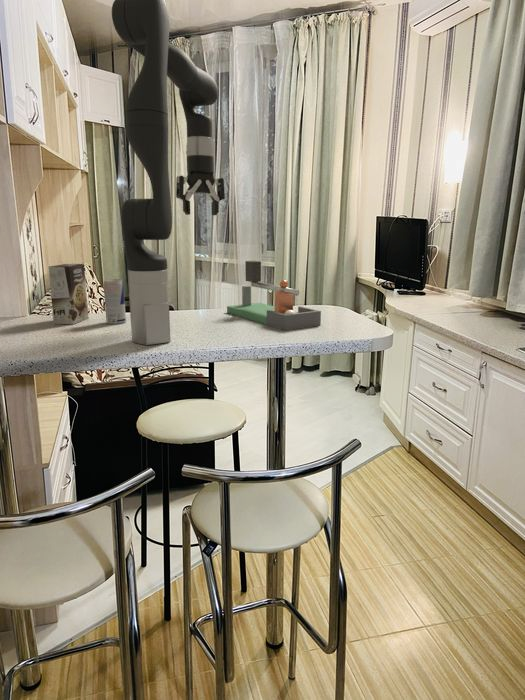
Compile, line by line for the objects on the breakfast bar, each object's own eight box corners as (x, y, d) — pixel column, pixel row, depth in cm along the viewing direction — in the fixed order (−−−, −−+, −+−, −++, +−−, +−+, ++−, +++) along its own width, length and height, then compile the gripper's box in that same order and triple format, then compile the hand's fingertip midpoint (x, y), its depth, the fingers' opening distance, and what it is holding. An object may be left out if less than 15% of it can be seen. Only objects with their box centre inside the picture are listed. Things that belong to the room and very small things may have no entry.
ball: (294, 306, 147) (289, 317, 150) (282, 307, 145) (278, 318, 148) (301, 314, 145) (297, 326, 147) (290, 316, 143) (285, 327, 145)
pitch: (320, 325, 145) (321, 296, 143) (285, 330, 139) (286, 300, 137) (259, 308, 170) (259, 284, 168) (227, 312, 163) (226, 286, 161)
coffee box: (74, 324, 145) (68, 266, 141) (52, 324, 146) (46, 266, 142) (89, 318, 154) (85, 263, 150) (69, 317, 155) (64, 263, 151)
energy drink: (128, 320, 151) (125, 279, 148) (122, 324, 146) (119, 281, 142) (110, 320, 151) (107, 278, 148) (103, 324, 146) (100, 281, 143)
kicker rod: (303, 315, 145) (304, 266, 142) (289, 317, 142) (290, 267, 139) (256, 303, 164) (256, 260, 161) (243, 305, 162) (242, 261, 158)
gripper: (181, 151, 140) (183, 214, 144) (228, 155, 147) (229, 215, 151) (171, 155, 146) (173, 214, 150) (216, 158, 153) (217, 215, 157)
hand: (201, 215), depth 150 cm, fingers open, 8 cm apart
